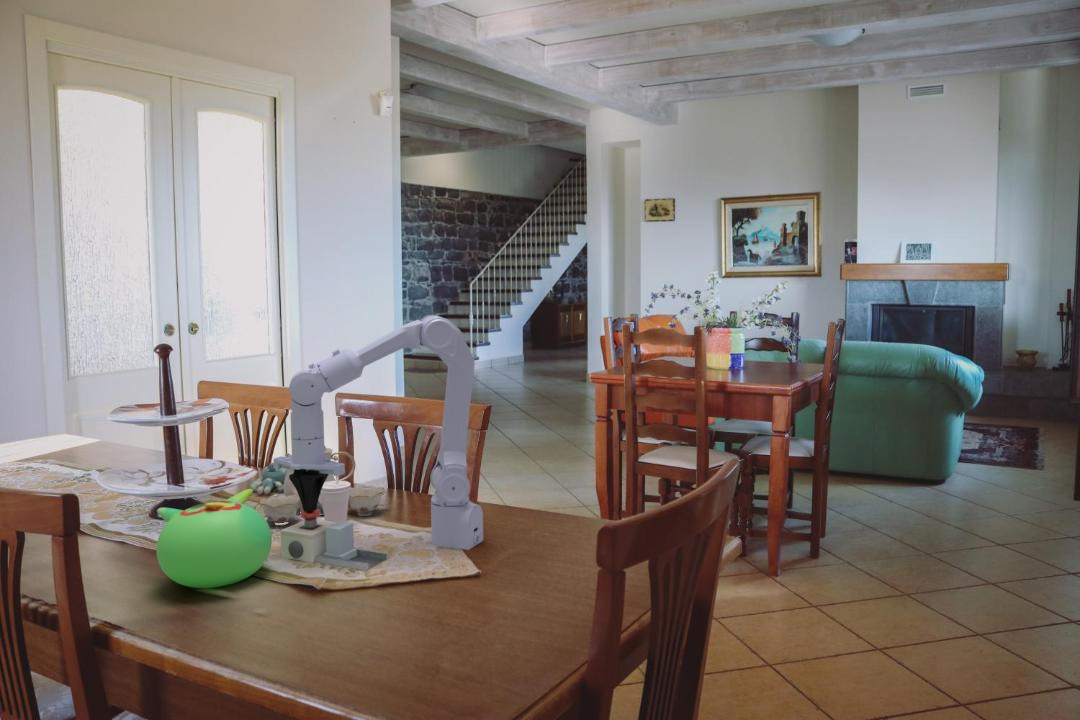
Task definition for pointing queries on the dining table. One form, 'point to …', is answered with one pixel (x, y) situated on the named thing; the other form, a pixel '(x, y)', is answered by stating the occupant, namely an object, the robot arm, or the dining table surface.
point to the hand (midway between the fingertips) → (310, 510)
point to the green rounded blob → (213, 542)
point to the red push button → (310, 519)
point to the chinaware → (287, 506)
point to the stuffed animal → (270, 480)
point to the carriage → (340, 541)
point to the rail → (355, 563)
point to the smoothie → (335, 500)
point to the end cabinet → (304, 541)
